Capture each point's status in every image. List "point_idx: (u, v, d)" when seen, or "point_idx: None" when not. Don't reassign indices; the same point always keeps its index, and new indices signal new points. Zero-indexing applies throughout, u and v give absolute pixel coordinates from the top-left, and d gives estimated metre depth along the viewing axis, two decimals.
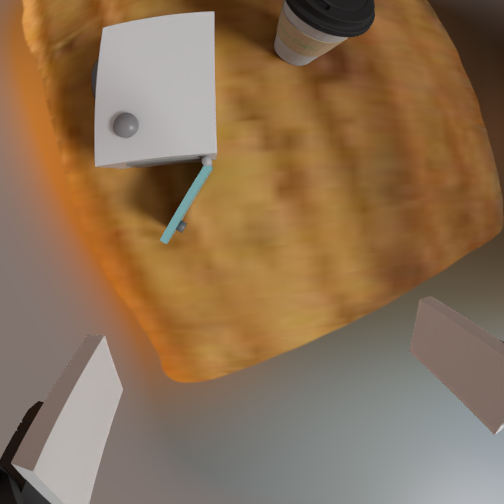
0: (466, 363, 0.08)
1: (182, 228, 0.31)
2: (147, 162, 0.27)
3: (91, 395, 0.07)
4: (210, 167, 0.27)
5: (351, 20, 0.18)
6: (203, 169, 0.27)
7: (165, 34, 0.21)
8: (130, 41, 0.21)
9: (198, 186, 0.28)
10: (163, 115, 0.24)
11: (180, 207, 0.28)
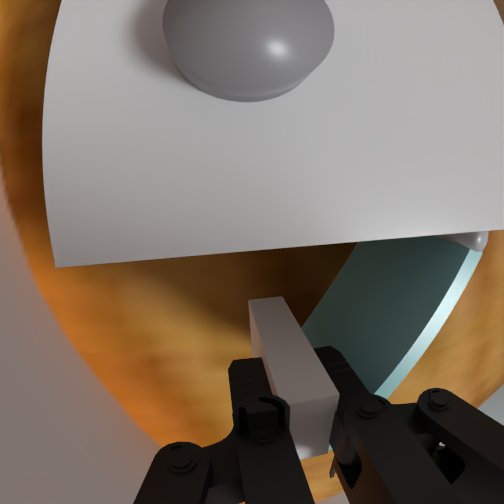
0: None
1: None
2: None
3: None
4: (479, 254, 0.07)
5: None
6: (467, 260, 0.07)
7: None
8: None
9: (449, 310, 0.08)
10: (420, 45, 0.04)
11: (395, 372, 0.08)
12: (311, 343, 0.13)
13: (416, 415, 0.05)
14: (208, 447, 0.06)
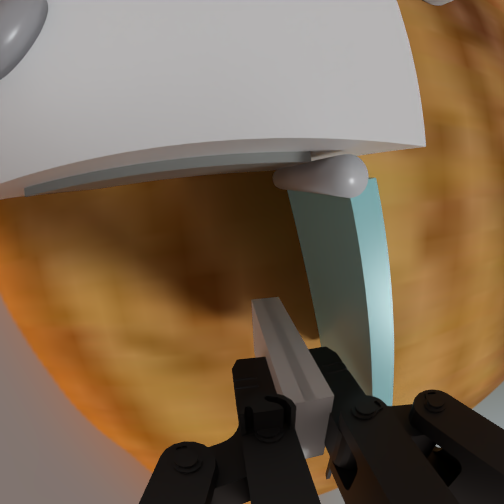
0: None
1: None
2: (90, 178, 0.06)
3: None
4: (372, 185, 0.06)
5: None
6: (359, 210, 0.06)
7: None
8: None
9: (384, 269, 0.07)
10: None
11: (376, 356, 0.08)
12: (326, 333, 0.13)
13: (412, 417, 0.05)
14: (213, 447, 0.06)
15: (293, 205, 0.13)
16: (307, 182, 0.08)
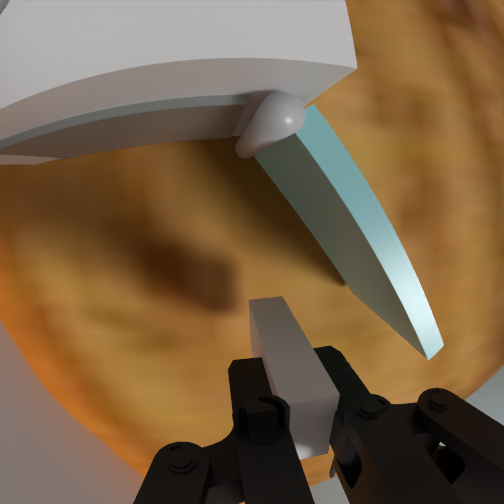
0: None
1: None
2: (41, 131, 0.05)
3: None
4: (312, 112, 0.06)
5: None
6: (310, 142, 0.06)
7: None
8: None
9: (365, 189, 0.06)
10: None
11: (397, 281, 0.07)
12: (349, 278, 0.13)
13: (416, 415, 0.05)
14: (208, 447, 0.06)
15: (265, 168, 0.12)
16: (255, 138, 0.07)
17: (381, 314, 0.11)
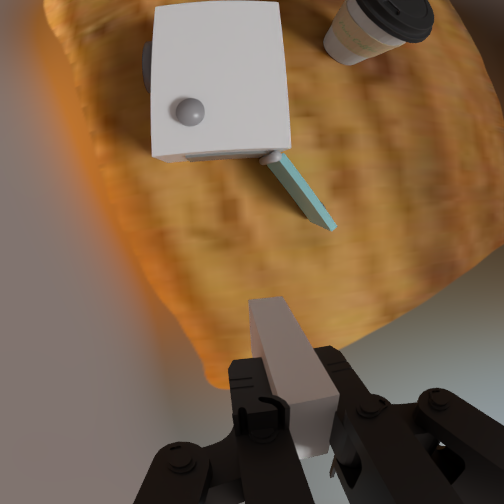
0: None
1: None
2: (209, 155, 0.25)
3: None
4: (283, 155, 0.26)
5: (418, 27, 0.16)
6: (283, 162, 0.26)
7: (228, 20, 0.20)
8: (189, 23, 0.20)
9: (297, 173, 0.26)
10: (233, 104, 0.22)
11: (310, 198, 0.27)
12: (305, 210, 0.33)
13: (416, 416, 0.05)
14: (208, 447, 0.06)
15: (271, 169, 0.32)
16: (269, 161, 0.27)
17: (317, 222, 0.31)
